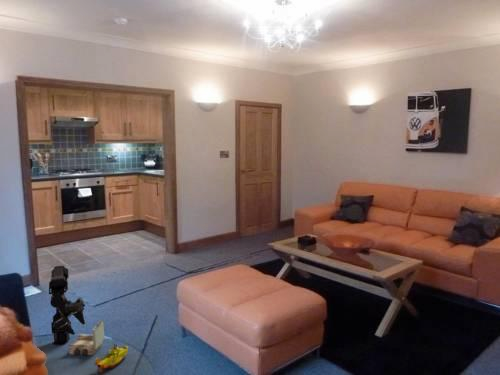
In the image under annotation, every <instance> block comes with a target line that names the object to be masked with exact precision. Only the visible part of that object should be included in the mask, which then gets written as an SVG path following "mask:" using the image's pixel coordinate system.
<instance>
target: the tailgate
mask: <svg viewBox="0 0 500 375" xmlns="http://www.w3.org/2000/svg"><path fill="white" fill-rule="evenodd" d="M92 335H93V346H94V349H96V348H97V347H98V346H99V345H100V344H101V342H103V341H105V328H104V319H103V318H100V320H99V321H98V322H97V323H96V325H95V326H94V327H93V328H92Z"/></svg>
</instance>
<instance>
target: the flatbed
mask: <svg viewBox="0 0 500 375" xmlns="http://www.w3.org/2000/svg"><path fill="white" fill-rule="evenodd" d="M77 336H78V338H77V339H76V341H74V343H69V344H68V346H69V348H68V349H69V354H70V355H75V356H79V355H83V356H87V355H88V356H94V355H95V354H96V352H97V351H98V350H99V349H100V347H101V346H102V345H103V343H102V342H103V341H102V342H101V344H100V345H99V346H98V347H97V348H96V349H94V346H93V334H80V333H79V334H78V335H77Z"/></svg>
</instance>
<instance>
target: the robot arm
mask: <svg viewBox="0 0 500 375" xmlns="http://www.w3.org/2000/svg"><path fill="white" fill-rule="evenodd" d="M69 275H70V274H69V268H66V267H65V265H56V266H54V268H53V269H52V270H51V275H50V276H51V278H50V281H49V282H48V295H51V297H50V305H51V307H52V308H55V314H54V315H53V317H52V321H51V322H50V323H51V325H50V326H51V334H52V335H53V342H52V345H60V346H63V345H66V344H67V343H68V342H69V341H70V340H71V337H70V335H72V336H73V335H75V334H76V333H75V331H74V329H73V328H72V322H71V320H70V317H71V316H74V318H75V319H76V320H77V321H78V322H79V323H80V324H82V325H85V324H86V322H85V317H84V309H85V306H86V305H85V302H84V300H83V298H81V297H78V298H77V299H76V300H75V301H74V302H72V300H70V299H69V300H68V299H67V297H66V295H65V294H66V293H67V291H68V290H69V283H68V279H70V278H69Z"/></svg>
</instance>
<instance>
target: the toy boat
mask: <svg viewBox="0 0 500 375" xmlns="http://www.w3.org/2000/svg"><path fill="white" fill-rule="evenodd" d="M128 350H129V346H128V345H125V346H121V347H118V344H116V343H114V344H113V346H112V347H111V348H110V349H109V350H108V352H107V353H106V354H105V355H104V356H103V357H102V358H101V359H99V357H96V358H95V360H94V365H97V366H96V367H97V373H100V374H101V373H102V372H103V369H107V368H113V367H115V366H117V365H118V364H119V363H121V362H122V360H123V359H124V358H125V357H126V355H127V354H128V353H129V351H128Z"/></svg>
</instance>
